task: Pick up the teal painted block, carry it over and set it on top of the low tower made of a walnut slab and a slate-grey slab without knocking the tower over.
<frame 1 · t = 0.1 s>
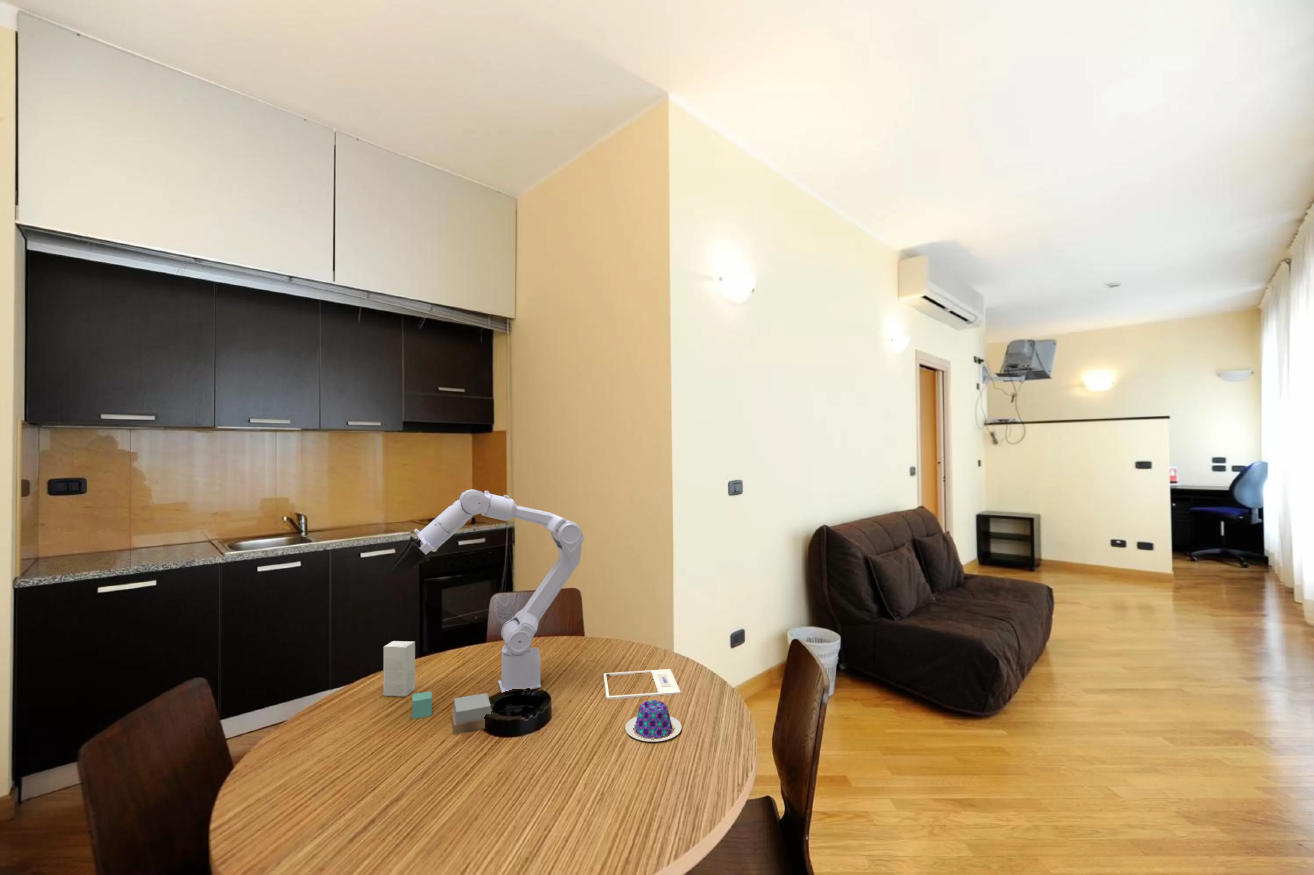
hand: (396, 568, 128), 32 cm above the table, tool tilted 50°, fingers open, 7 cm apart
photo frame: (640, 686, 139), on the table
skincare box: (399, 693, 135), on the table
pudding: (653, 731, 117), on the table
tower top: (472, 713, 120), point 2 cm above the table, touching tower base
teal block: (421, 713, 124), on the table
tower base: (472, 724, 120), on the table, touching tower top
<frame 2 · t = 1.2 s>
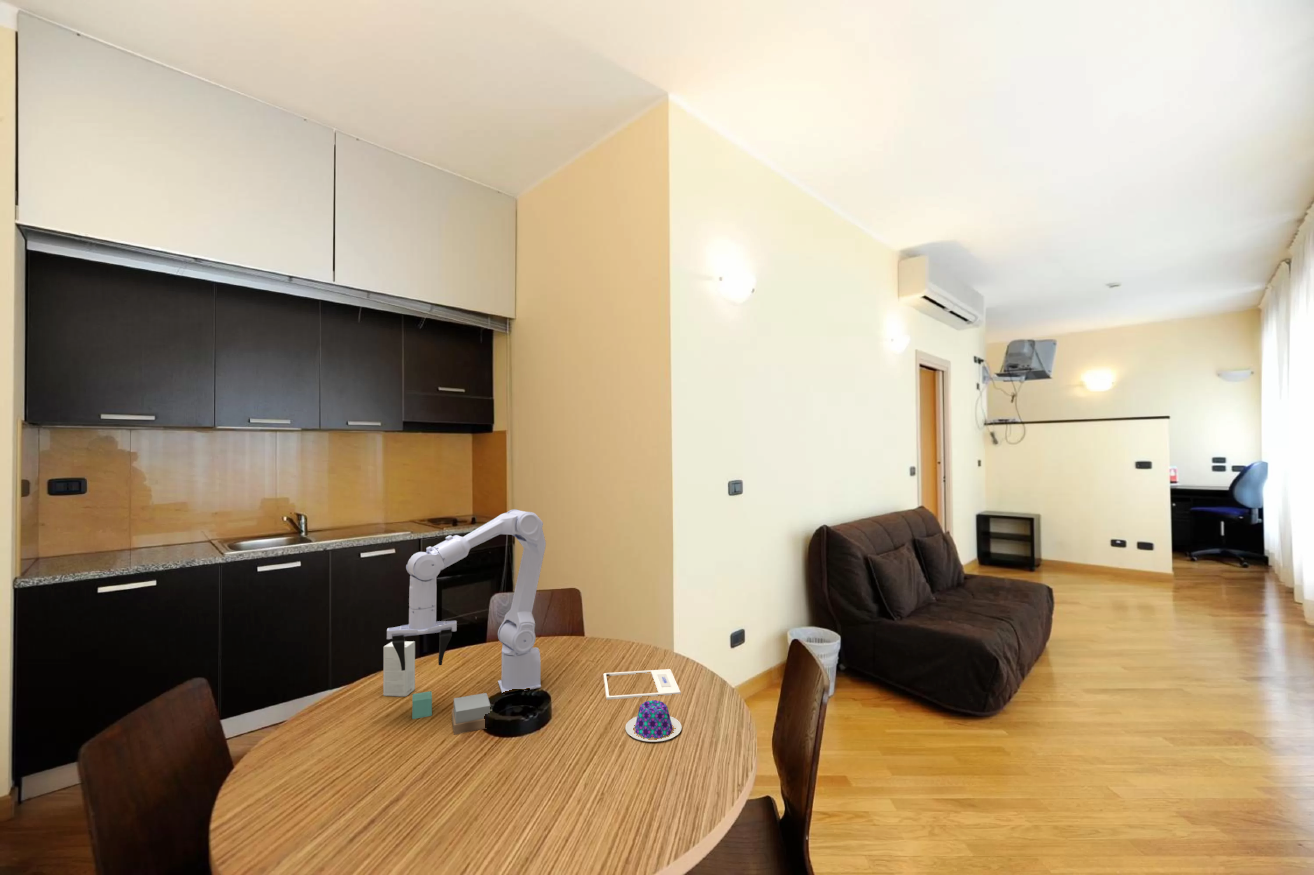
hand: (422, 666, 124), 11 cm above the table, tool pointing down, fingers open, 7 cm apart
nothing on the table moved.
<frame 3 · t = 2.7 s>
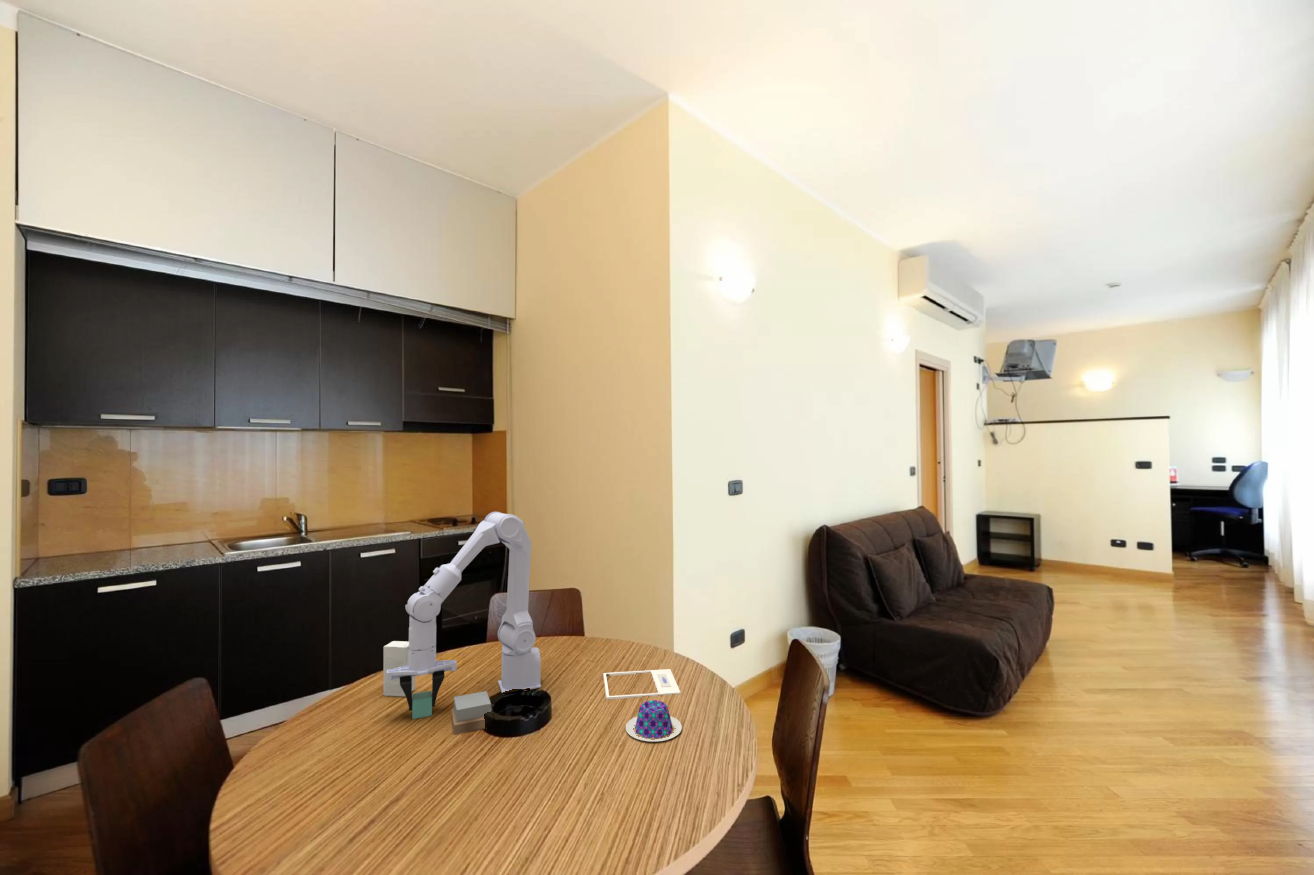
hand: (422, 706, 124), 1 cm above the table, tool pointing down, fingers closed on teal block, 4 cm apart
tower top: (472, 711, 120), point 2 cm above the table
teal block: (421, 713, 124), on the table, touching gripper
tower base: (472, 724, 120), on the table
everything else where it was.
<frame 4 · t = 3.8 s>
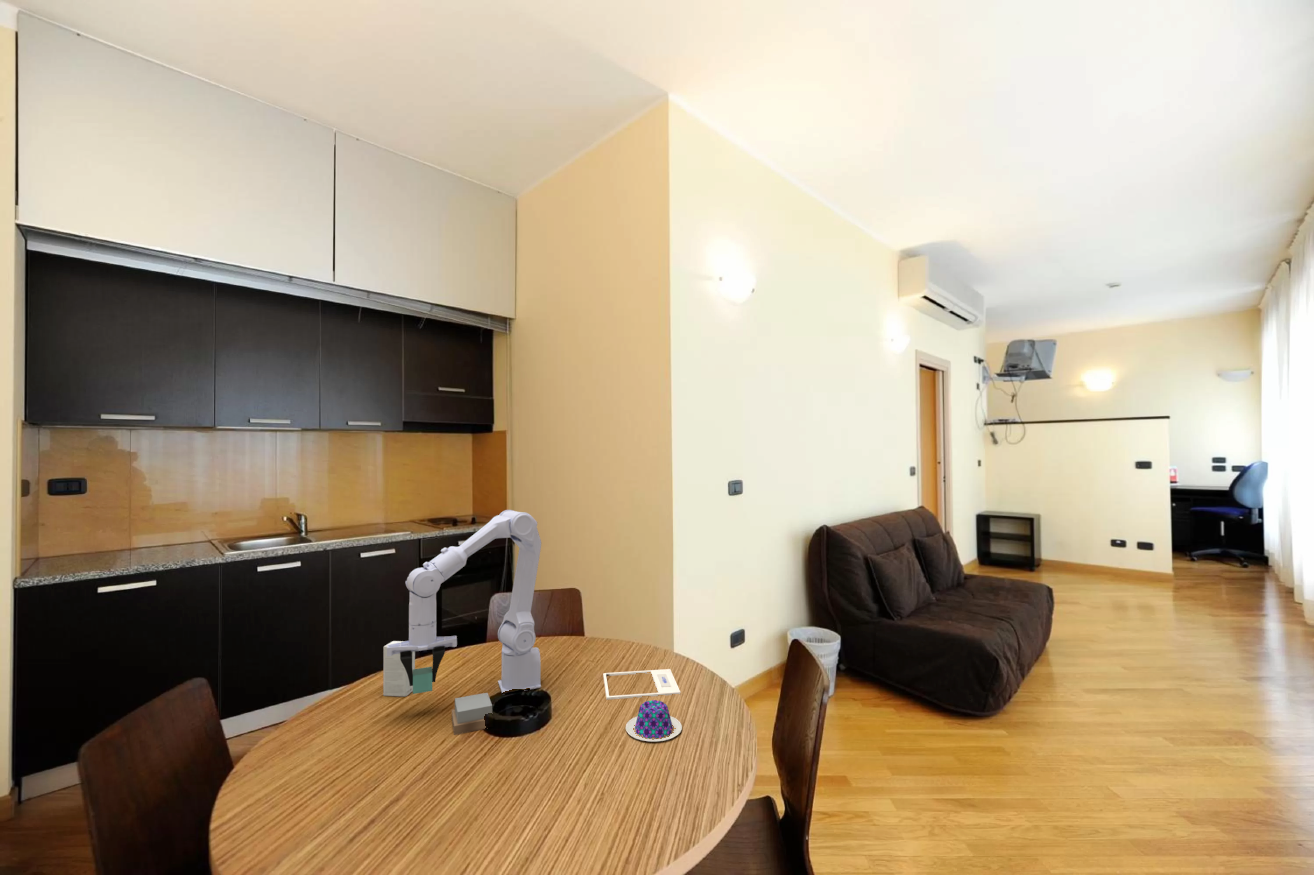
hand: (422, 682, 124), 7 cm above the table, tool pointing down, fingers closed on teal block, 4 cm apart
tower top: (473, 713, 120), point 2 cm above the table, touching tower base
teal block: (422, 688, 124), point 5 cm above the table, touching gripper
tower base: (472, 725, 120), on the table, touching tower top
everything else where it was.
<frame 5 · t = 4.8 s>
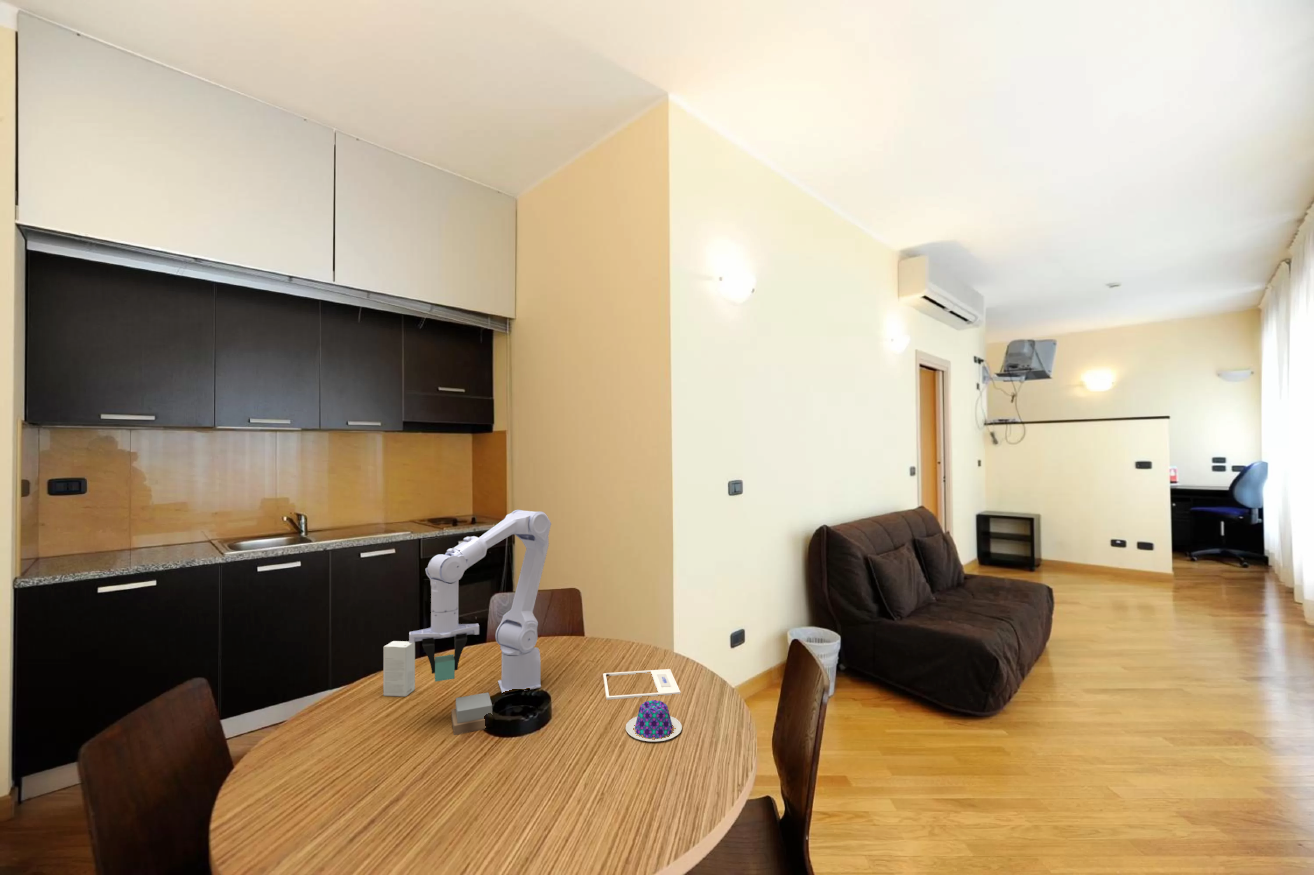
hand: (444, 670, 122), 10 cm above the table, tool pointing down, fingers closed on teal block, 4 cm apart
teal block: (444, 676, 122), point 9 cm above the table, touching gripper
everything else where it was.
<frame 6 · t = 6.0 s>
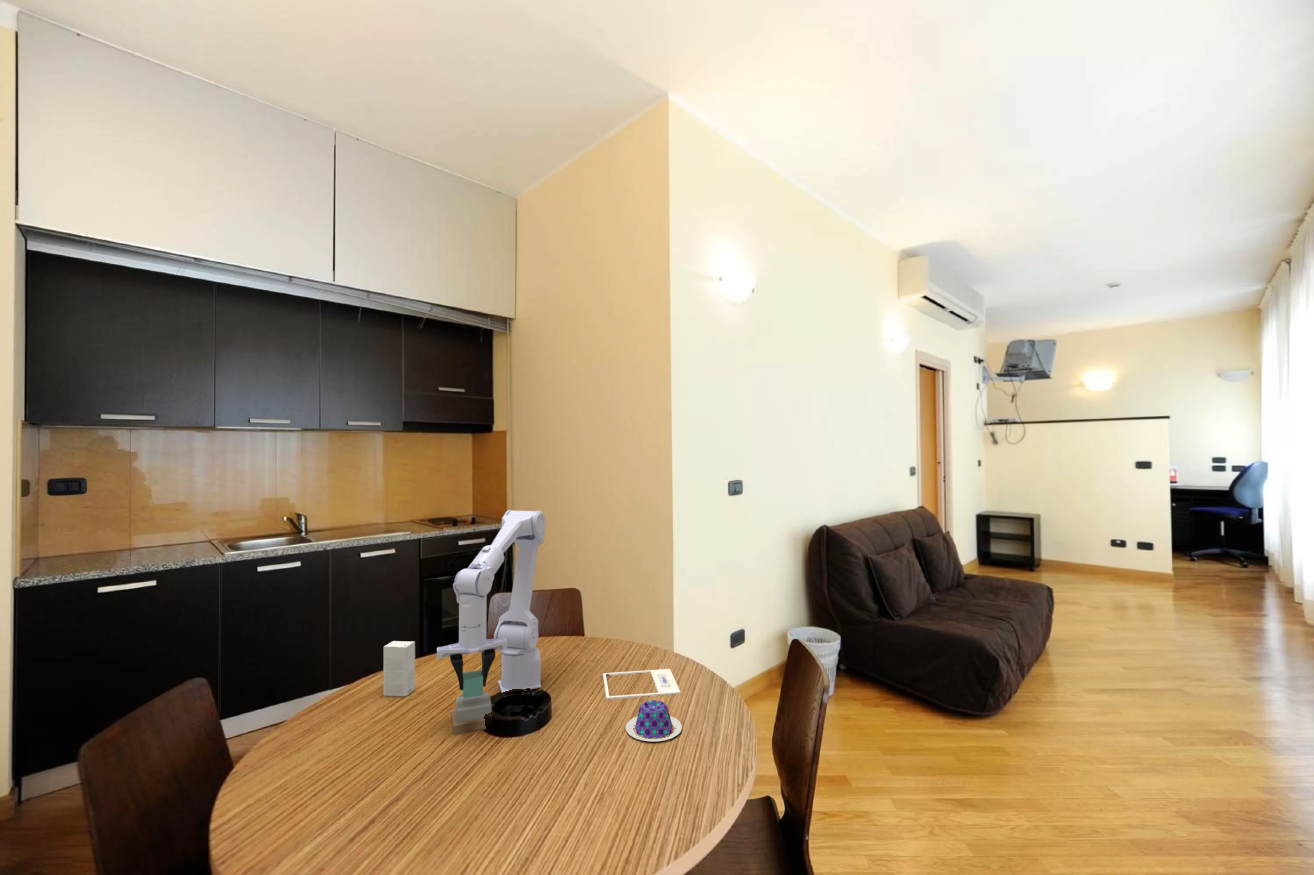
hand: (472, 686, 120), 8 cm above the table, tool pointing down, fingers closed on teal block, 4 cm apart
teal block: (472, 693, 120), point 6 cm above the table, touching gripper
everything else where it was.
when the fingers open (7 cm above the table, at t = 6.5 s): teal block drops 1 cm, resting on tower top.
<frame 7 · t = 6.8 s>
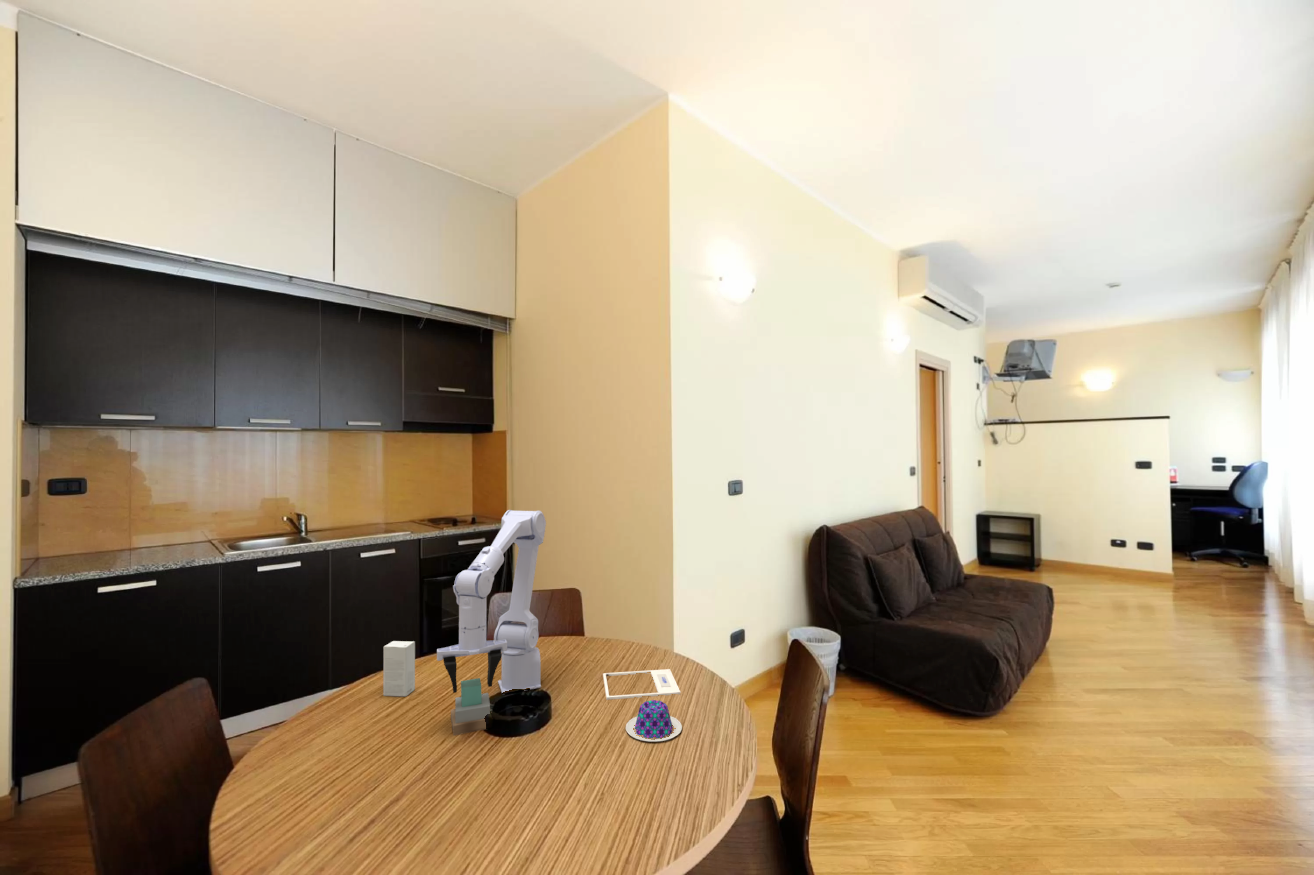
hand: (472, 687, 120), 7 cm above the table, tool pointing down, fingers open, 7 cm apart
tower top: (472, 713, 120), point 2 cm above the table, touching teal block, tower base
teal block: (471, 701, 120), point 4 cm above the table, touching tower top
everything else where it was.
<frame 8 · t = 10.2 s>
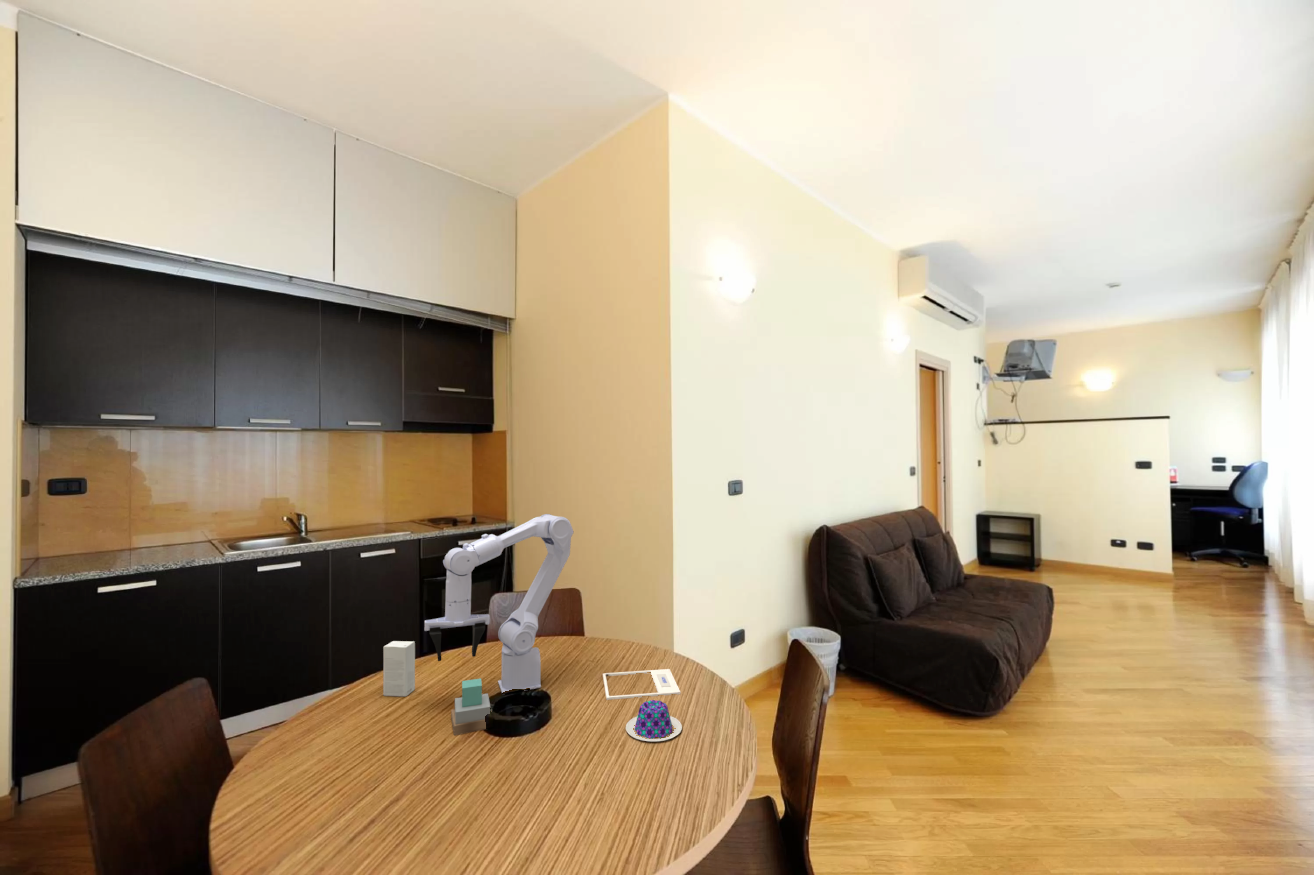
hand: (456, 657, 130), 10 cm above the table, tool pointing down, fingers open, 7 cm apart
tower top: (472, 713, 120), point 2 cm above the table, touching tower base
teal block: (471, 701, 120), point 4 cm above the table
everything else where it was.
at the end: teal block 0.3 cm off-centre on the tower top, point 2.5 cm above the tower top's base; teal block tilted 1°; tower top 0.1 cm off-centre on the tower base, point 2.5 cm above the tower base's base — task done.
